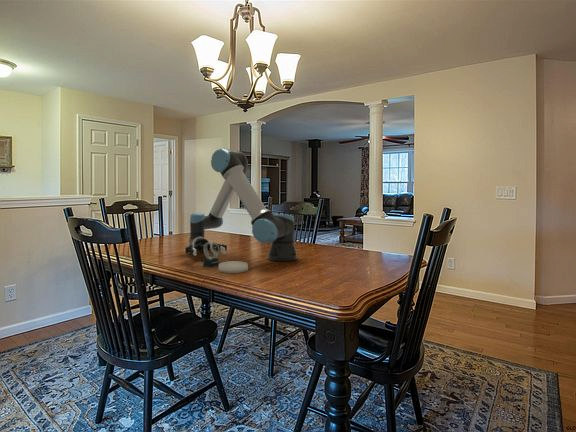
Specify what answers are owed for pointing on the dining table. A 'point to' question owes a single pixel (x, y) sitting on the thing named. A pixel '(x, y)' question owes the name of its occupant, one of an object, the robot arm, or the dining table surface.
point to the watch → (210, 260)
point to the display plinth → (233, 267)
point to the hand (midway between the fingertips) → (210, 251)
